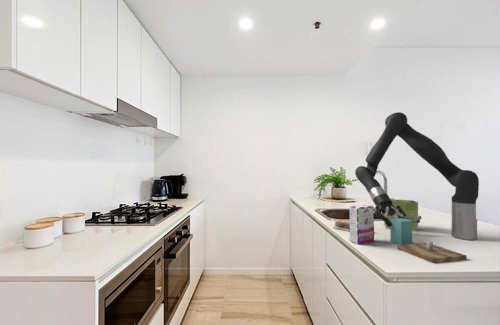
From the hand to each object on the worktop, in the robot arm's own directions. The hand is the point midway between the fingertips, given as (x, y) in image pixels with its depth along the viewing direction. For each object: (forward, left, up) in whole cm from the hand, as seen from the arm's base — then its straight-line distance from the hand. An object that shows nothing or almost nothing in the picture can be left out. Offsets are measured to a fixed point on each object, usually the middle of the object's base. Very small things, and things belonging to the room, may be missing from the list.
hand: (398, 225), depth 116 cm
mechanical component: (-16, -9, -8) cm, 20 cm away
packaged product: (+7, -23, -8) cm, 25 cm away
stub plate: (0, +16, -7) cm, 17 cm away
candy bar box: (+16, -4, -8) cm, 18 cm away
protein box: (-23, -22, -8) cm, 33 cm away
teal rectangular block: (0, +2, -7) cm, 8 cm away
